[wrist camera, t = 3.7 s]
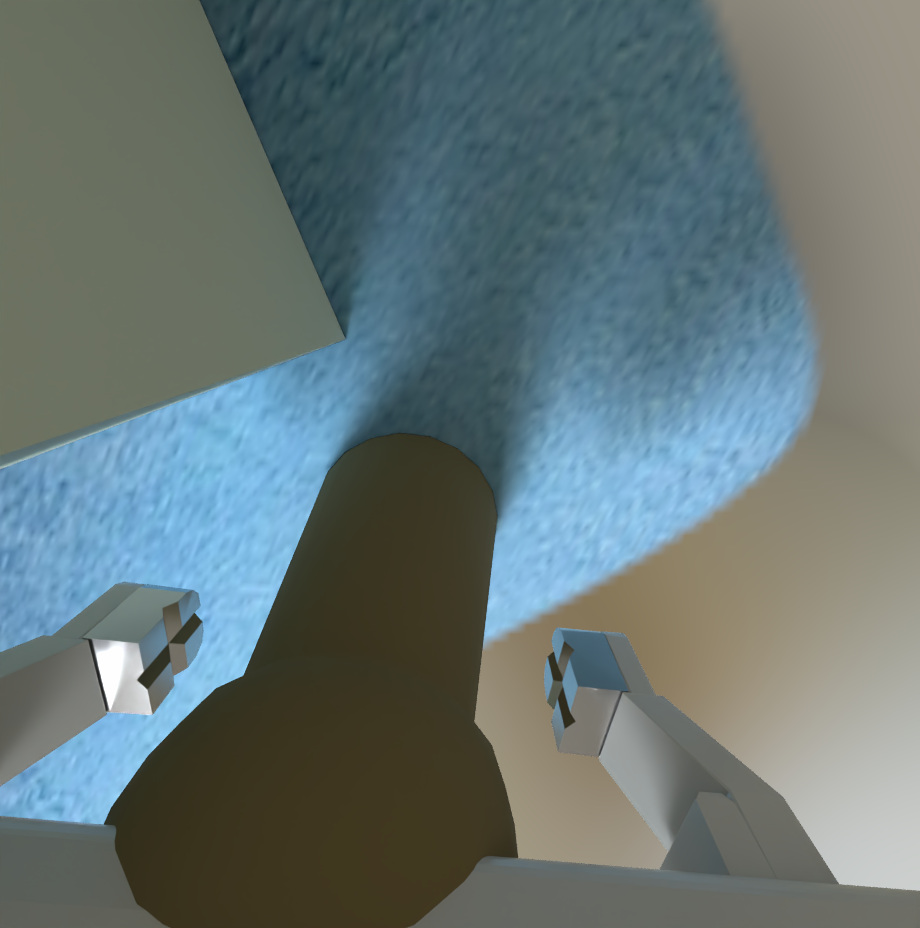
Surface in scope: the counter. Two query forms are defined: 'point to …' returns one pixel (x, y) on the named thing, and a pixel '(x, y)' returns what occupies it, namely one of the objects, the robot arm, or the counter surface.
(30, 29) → the open top box
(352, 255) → the counter surface
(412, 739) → the cork
